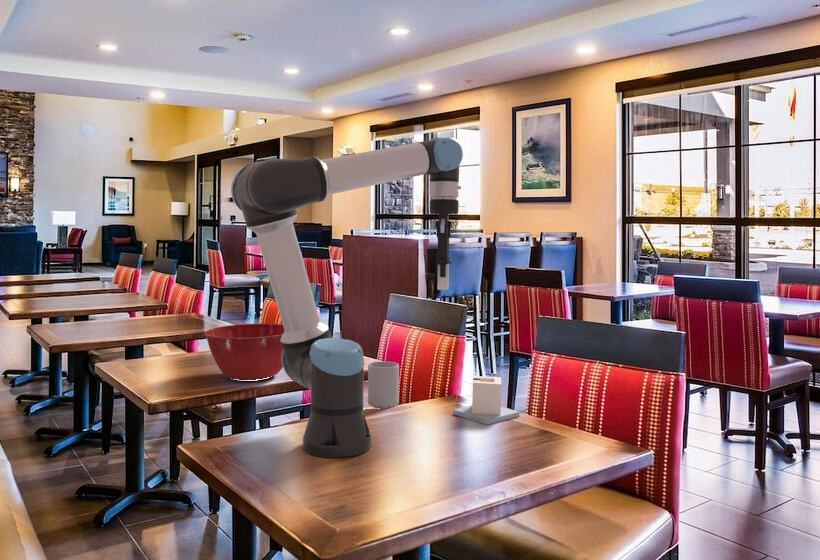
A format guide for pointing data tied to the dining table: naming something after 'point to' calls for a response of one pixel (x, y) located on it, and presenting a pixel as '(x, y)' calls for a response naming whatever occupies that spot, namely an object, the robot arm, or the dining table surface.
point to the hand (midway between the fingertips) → (443, 288)
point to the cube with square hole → (486, 395)
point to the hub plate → (486, 415)
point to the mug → (383, 384)
